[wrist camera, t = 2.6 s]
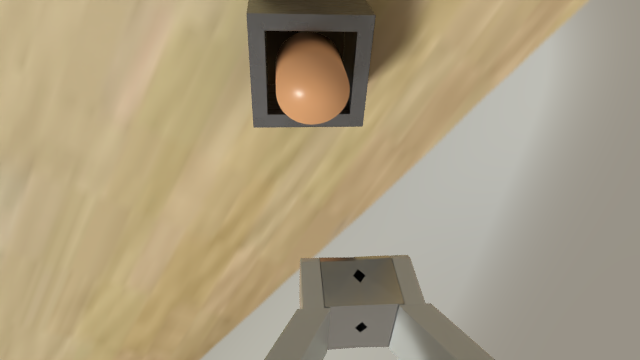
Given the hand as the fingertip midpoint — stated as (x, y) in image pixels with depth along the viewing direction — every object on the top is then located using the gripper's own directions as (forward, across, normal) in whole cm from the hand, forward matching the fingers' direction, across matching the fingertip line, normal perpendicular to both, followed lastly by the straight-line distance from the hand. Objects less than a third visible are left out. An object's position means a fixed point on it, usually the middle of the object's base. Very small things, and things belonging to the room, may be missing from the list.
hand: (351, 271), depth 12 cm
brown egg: (+15, 0, 0) cm, 15 cm away
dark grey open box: (+17, 0, 0) cm, 17 cm away
